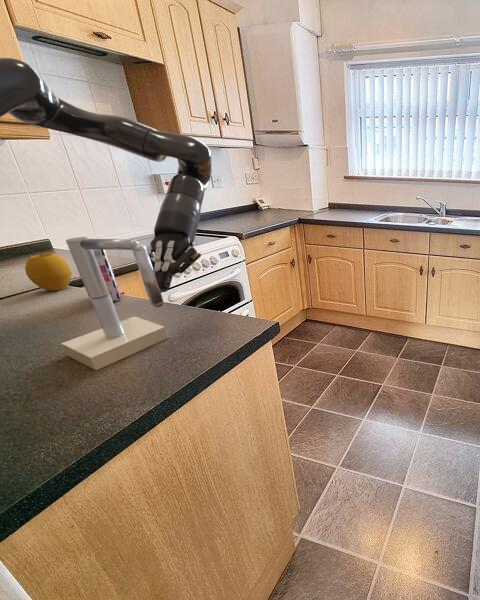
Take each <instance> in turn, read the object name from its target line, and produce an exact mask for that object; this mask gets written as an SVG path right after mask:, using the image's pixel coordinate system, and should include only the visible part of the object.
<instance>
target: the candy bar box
mask: <svg viewBox="0 0 480 600" xmlns="http://www.w3.org/2000/svg"><path fill="white" fill-rule="evenodd" d="M92 250H93V252H94V255H95V257H96V260H97V263H98V265H99V268H100V270H101V273H102V276H103V278H104V281H105V283H106V286H107V288H108V291H109V294H110V296H111V299H112V301H113V303H116V302H119V301H120V302H121V300H122V299H121V294H120V289H119V285H118V282H117V280H116V277H115V274H114V271H113V268H112V266H111V265H112V264H111V263H110V259H109V257H108V253H107V252H106V249H92Z"/></svg>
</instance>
